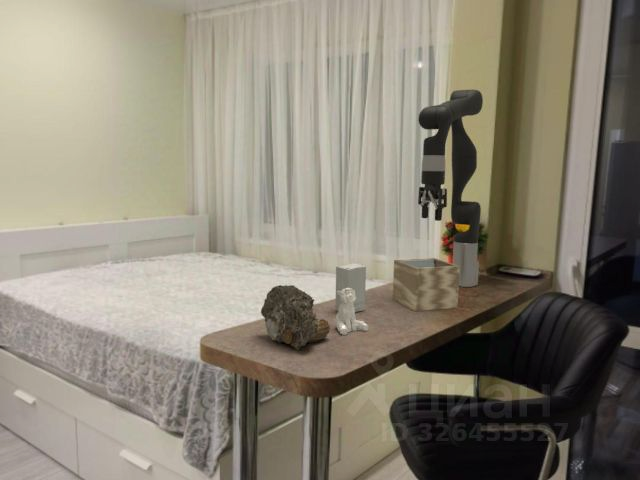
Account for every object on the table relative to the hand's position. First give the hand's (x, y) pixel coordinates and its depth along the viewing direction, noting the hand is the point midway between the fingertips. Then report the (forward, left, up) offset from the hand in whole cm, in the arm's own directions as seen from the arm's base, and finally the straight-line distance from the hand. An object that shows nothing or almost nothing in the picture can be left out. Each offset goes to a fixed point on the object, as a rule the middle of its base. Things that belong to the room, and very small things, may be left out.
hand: (431, 219), depth 173 cm
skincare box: (+28, 0, -29) cm, 41 cm away
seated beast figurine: (+36, +18, -29) cm, 50 cm away
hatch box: (0, -2, -29) cm, 29 cm away
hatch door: (0, -6, -21) cm, 22 cm away
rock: (+52, +24, -29) cm, 64 cm away
